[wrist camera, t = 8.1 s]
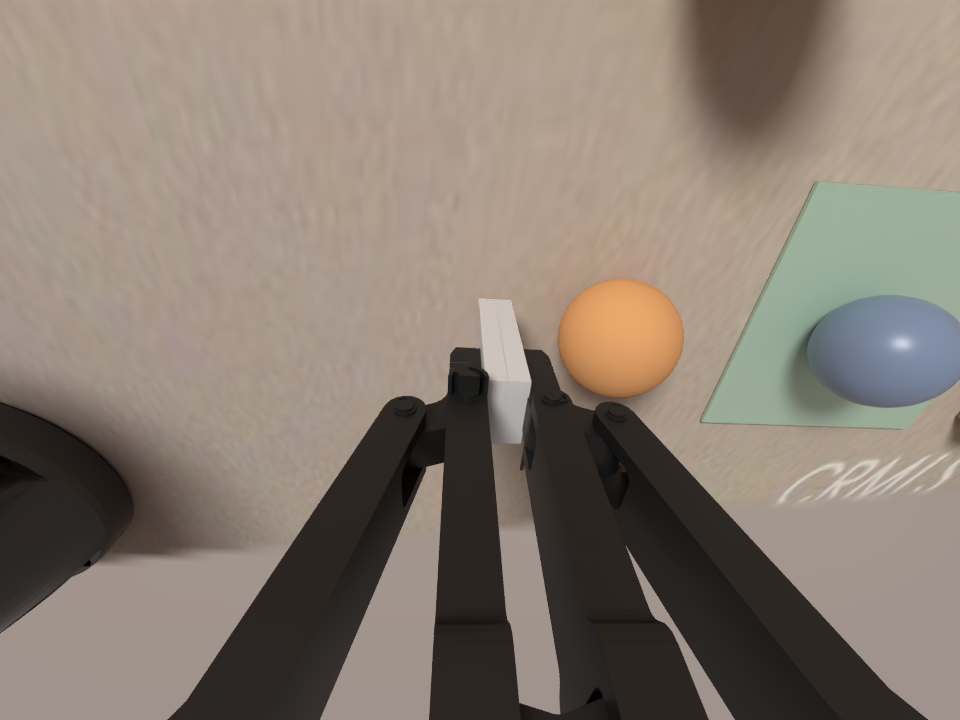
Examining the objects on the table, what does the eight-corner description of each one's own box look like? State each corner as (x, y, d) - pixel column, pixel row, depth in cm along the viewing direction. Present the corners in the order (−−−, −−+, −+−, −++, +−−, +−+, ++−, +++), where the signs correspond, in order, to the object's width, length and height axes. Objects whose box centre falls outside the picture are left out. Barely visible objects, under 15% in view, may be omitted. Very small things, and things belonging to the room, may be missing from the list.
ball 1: (675, 430, 17) (648, 365, 22) (724, 316, 14) (680, 269, 19) (550, 412, 18) (549, 352, 22) (572, 299, 15) (566, 257, 19)
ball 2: (950, 441, 18) (872, 376, 22) (1051, 336, 15) (938, 286, 20) (819, 419, 19) (770, 361, 23) (891, 315, 16) (818, 272, 20)
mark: (700, 420, 25) (701, 422, 25) (815, 181, 17) (819, 181, 17) (903, 426, 26) (906, 428, 25) (1095, 202, 18) (1101, 203, 18)
